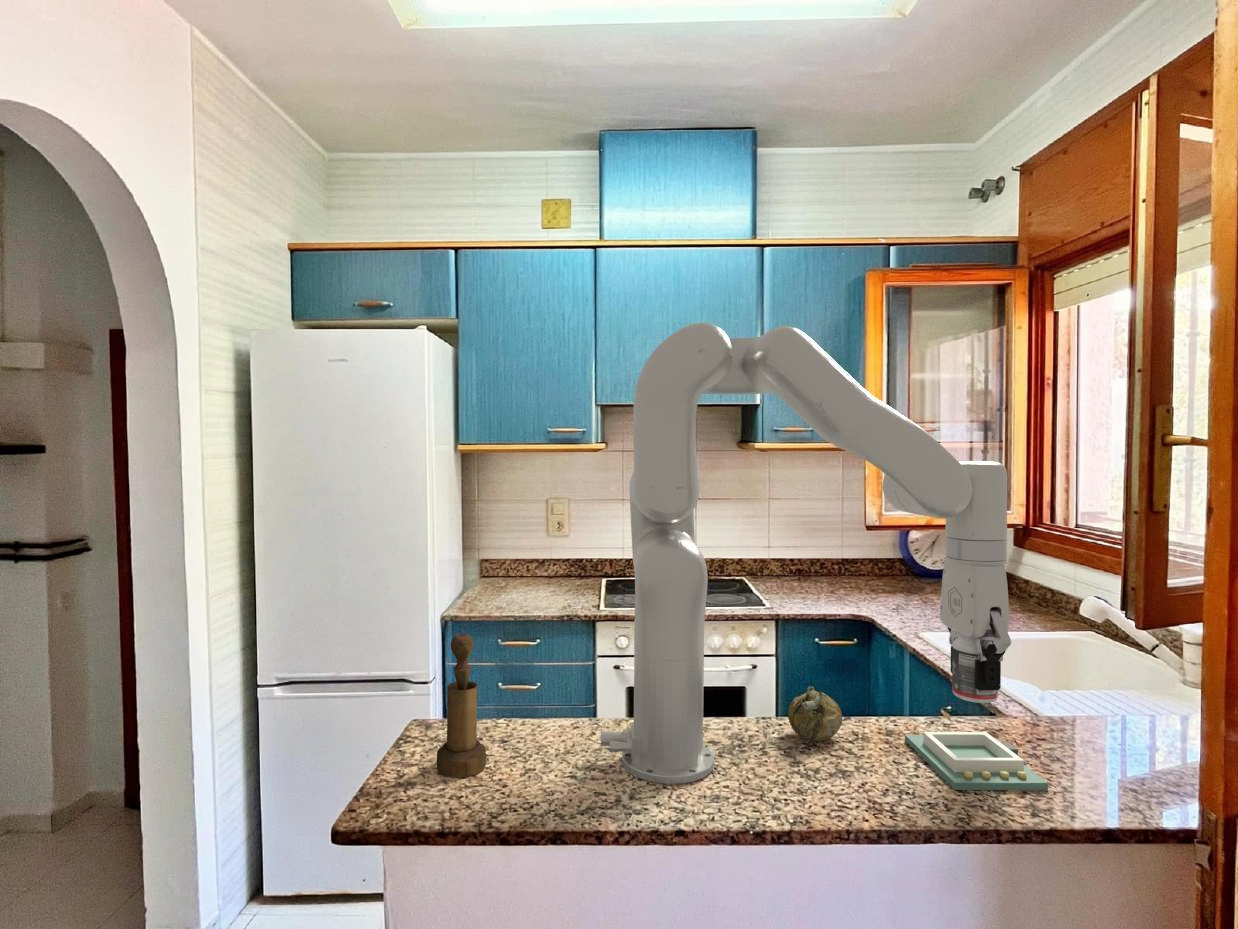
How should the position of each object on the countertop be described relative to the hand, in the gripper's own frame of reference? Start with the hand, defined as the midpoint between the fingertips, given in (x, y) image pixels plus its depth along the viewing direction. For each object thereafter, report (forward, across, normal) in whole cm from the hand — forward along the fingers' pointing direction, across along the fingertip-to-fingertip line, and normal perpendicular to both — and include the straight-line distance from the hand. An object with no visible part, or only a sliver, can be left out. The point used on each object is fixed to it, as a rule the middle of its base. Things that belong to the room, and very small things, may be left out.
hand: (974, 680), depth 97 cm
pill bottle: (+3, 0, 0) cm, 3 cm away
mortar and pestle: (+11, +1, -70) cm, 71 cm away
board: (+12, 0, 0) cm, 12 cm away
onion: (+12, -9, -19) cm, 24 cm away
